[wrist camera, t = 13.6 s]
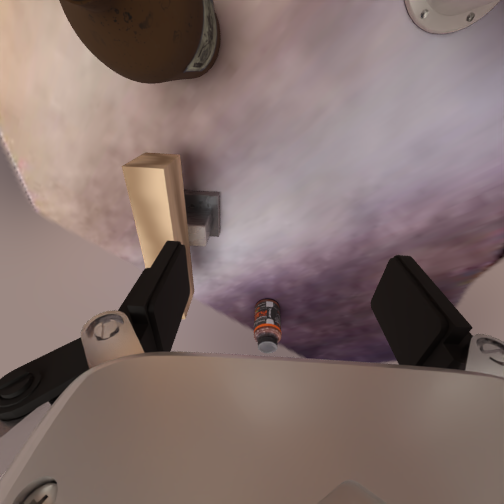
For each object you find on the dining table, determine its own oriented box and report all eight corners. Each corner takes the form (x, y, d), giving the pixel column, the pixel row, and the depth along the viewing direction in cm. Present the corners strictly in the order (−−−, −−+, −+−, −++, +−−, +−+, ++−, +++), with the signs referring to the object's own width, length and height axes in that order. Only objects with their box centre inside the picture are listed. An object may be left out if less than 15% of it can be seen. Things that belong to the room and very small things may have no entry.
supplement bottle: (264, 293, 58) (264, 334, 48) (284, 304, 59) (288, 346, 50) (250, 308, 60) (247, 349, 51) (269, 318, 62) (271, 359, 53)
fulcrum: (219, 192, 44) (210, 213, 37) (220, 231, 49) (212, 258, 41) (152, 187, 44) (129, 208, 37) (159, 227, 49) (140, 253, 41)
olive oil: (144, 72, 35) (-30, 54, 14) (142, -37, 29) (-158, -342, 8) (219, 92, 36) (159, 103, 15) (232, -9, 30) (165, -218, 9)
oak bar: (180, 154, 32) (163, 168, 27) (194, 291, 46) (185, 319, 40) (145, 152, 32) (121, 166, 27) (169, 289, 46) (157, 317, 40)
